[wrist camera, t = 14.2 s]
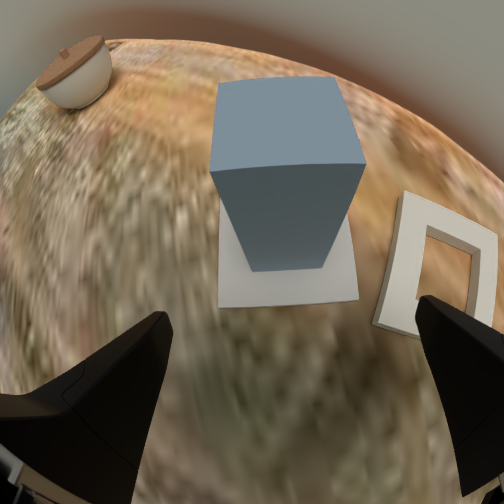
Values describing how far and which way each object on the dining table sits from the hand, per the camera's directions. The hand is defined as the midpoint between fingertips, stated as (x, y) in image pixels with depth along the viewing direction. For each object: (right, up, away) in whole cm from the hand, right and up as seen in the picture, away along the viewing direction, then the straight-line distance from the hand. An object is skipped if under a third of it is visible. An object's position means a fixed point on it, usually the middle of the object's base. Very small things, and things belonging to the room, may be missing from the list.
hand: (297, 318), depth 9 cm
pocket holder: (+14, 0, +9) cm, 17 cm away
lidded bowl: (-28, +28, +25) cm, 47 cm away
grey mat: (+1, +3, +12) cm, 12 cm away
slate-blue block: (+1, +3, +11) cm, 12 cm away
